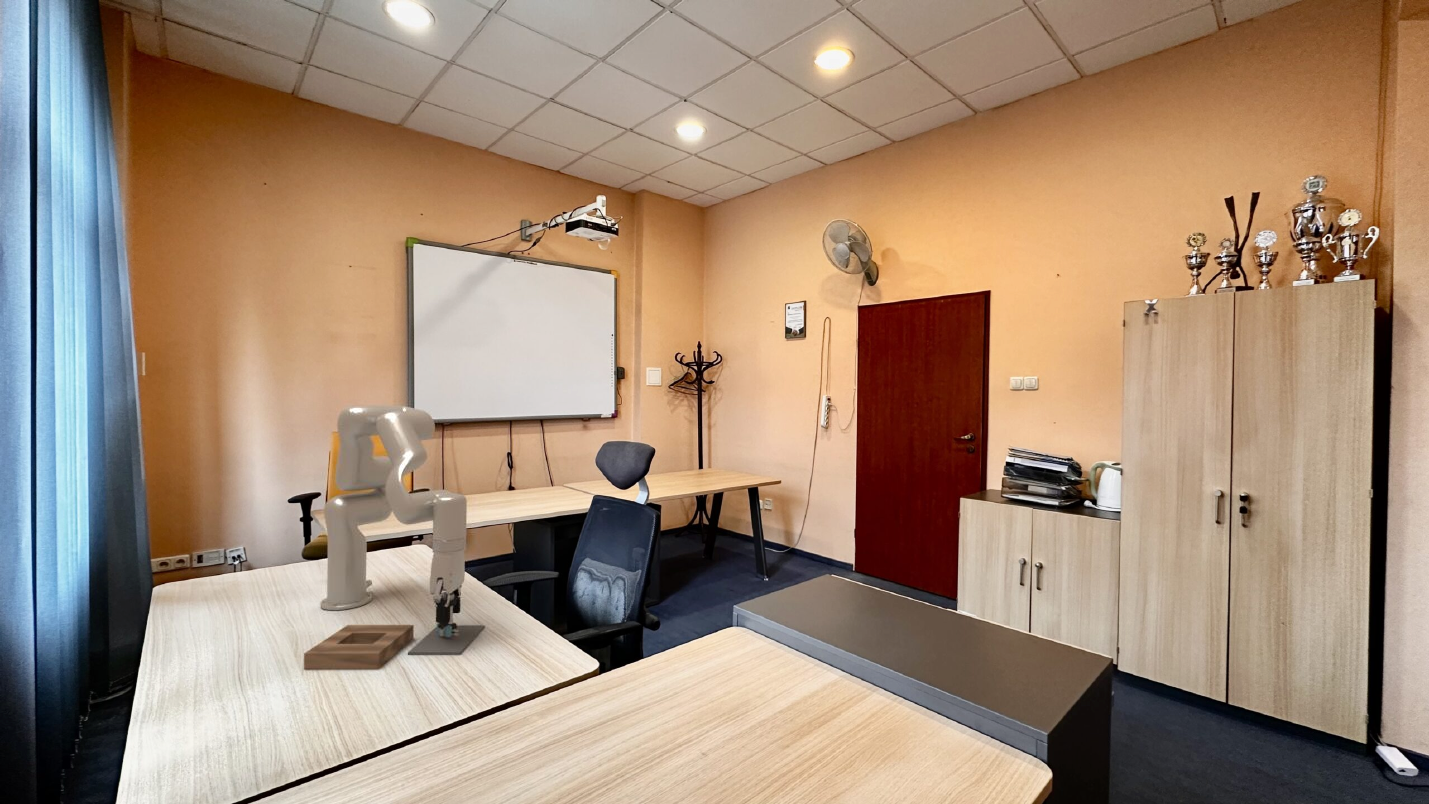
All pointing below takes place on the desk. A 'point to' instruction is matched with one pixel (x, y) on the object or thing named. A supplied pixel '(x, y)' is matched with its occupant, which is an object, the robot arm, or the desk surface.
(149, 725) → the desk surface
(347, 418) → the robot arm
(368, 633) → the holder
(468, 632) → the pad
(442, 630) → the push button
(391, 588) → the desk surface
